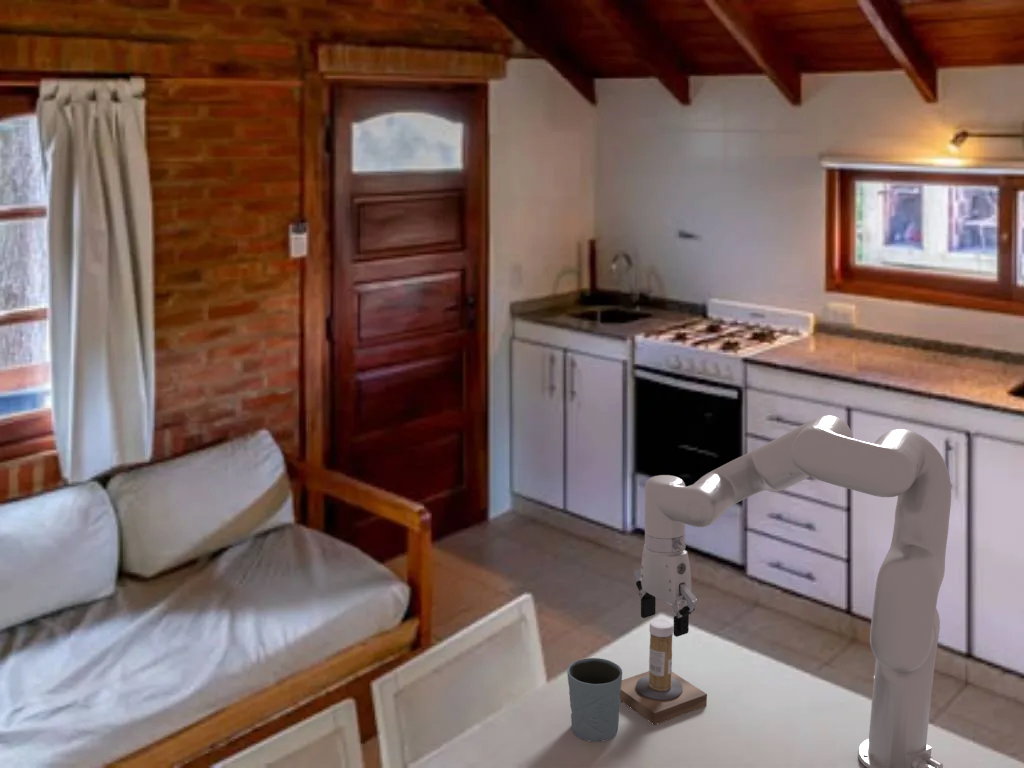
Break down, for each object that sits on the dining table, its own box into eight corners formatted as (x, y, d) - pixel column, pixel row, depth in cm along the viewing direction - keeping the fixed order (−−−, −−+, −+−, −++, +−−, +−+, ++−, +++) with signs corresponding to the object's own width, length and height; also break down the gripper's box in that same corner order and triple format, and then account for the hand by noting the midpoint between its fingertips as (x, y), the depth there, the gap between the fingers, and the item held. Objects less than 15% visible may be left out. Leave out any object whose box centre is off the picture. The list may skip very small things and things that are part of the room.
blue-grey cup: (617, 746, 197) (619, 687, 194) (562, 740, 199) (563, 681, 196) (623, 717, 206) (625, 660, 203) (570, 711, 208) (571, 654, 205)
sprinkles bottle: (676, 687, 211) (678, 624, 208) (658, 694, 209) (660, 630, 205) (660, 678, 215) (662, 615, 212) (643, 684, 212) (644, 621, 209)
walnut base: (706, 705, 210) (707, 691, 210) (654, 725, 204) (654, 710, 203) (663, 677, 221) (663, 663, 220) (612, 694, 214) (612, 681, 214)
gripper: (711, 550, 199) (709, 636, 203) (651, 523, 213) (650, 604, 217) (679, 560, 195) (678, 647, 199) (620, 532, 210) (621, 614, 213)
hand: (664, 625), depth 208 cm, fingers open, 9 cm apart
